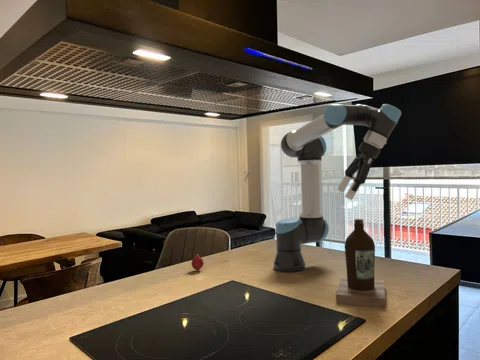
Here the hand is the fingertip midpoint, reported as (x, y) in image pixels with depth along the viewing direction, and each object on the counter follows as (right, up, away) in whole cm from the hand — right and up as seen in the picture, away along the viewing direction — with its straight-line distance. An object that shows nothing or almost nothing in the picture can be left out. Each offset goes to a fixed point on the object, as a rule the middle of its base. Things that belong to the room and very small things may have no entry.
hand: (343, 194), depth 134 cm
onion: (-61, -39, +35) cm, 80 cm away
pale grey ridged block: (+5, -37, -5) cm, 38 cm away
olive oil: (+5, -34, -5) cm, 35 cm away
